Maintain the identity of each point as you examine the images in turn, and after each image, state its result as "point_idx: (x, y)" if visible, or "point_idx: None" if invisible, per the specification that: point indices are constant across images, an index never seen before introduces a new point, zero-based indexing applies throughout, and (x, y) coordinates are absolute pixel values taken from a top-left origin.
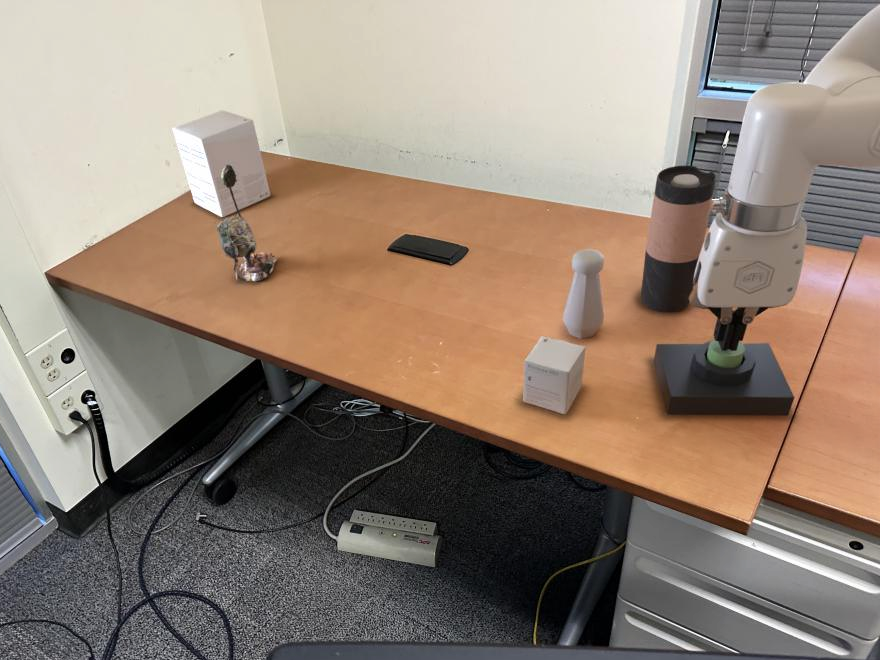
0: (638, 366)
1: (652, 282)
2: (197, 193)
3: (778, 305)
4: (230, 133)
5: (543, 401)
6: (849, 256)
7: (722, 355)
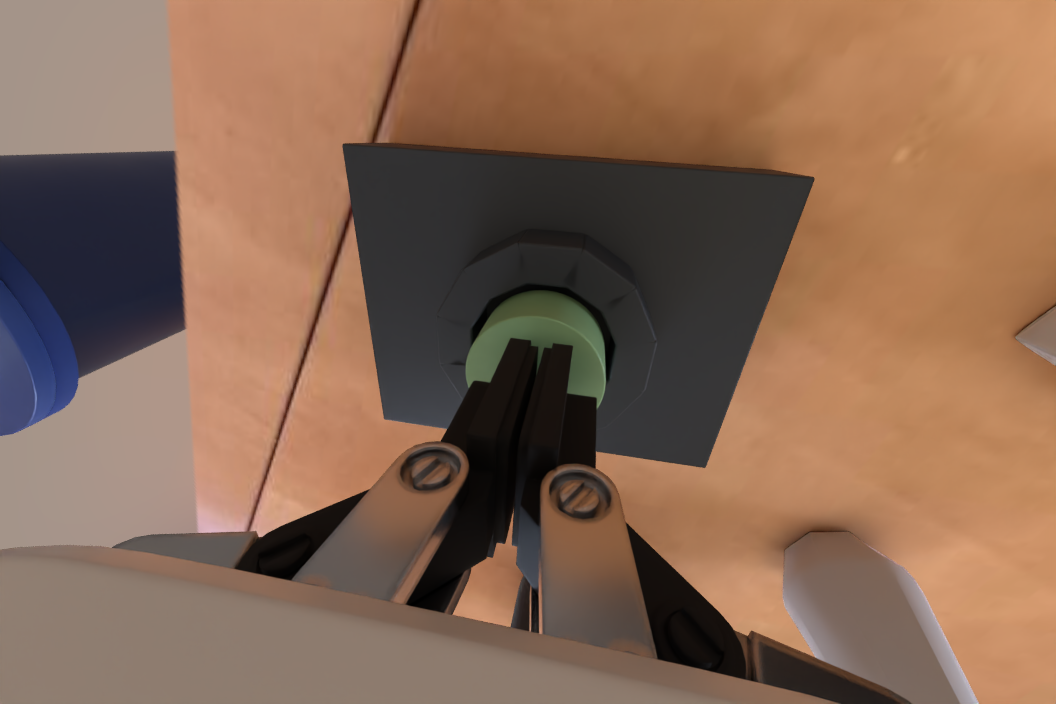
0: (744, 409)
1: None
2: None
3: (26, 558)
4: None
5: None
6: None
7: (572, 328)
